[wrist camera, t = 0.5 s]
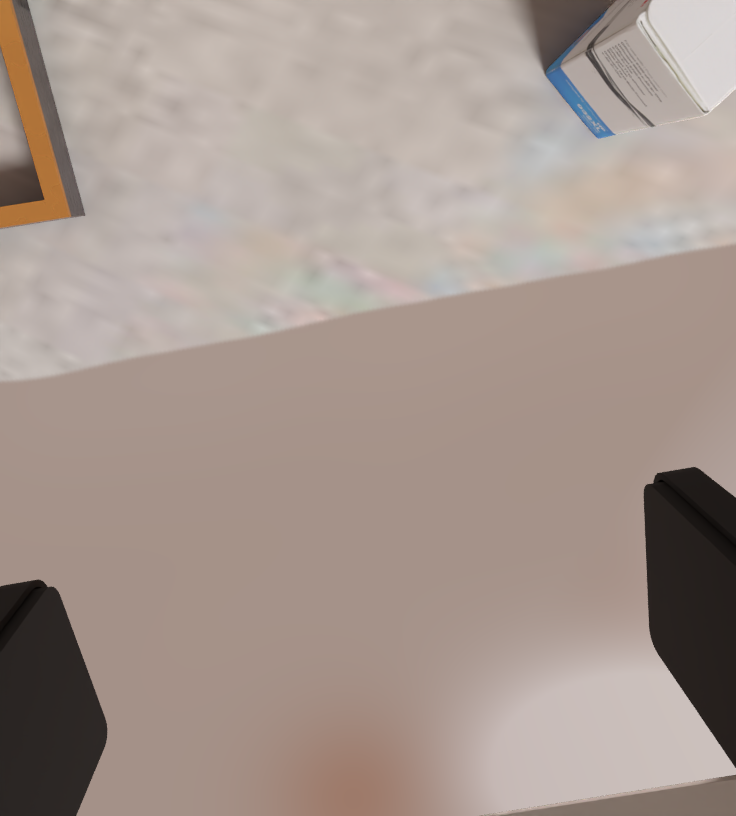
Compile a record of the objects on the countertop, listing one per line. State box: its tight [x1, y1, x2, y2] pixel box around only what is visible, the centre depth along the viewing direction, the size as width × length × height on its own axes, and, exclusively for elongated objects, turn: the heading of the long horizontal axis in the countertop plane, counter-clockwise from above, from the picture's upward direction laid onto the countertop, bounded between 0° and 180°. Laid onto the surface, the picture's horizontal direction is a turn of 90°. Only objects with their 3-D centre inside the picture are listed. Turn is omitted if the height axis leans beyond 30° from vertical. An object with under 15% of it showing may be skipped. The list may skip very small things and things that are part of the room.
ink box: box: [546, 0, 736, 138], centre depth 30 cm, size 8×5×12 cm, turn 133°
